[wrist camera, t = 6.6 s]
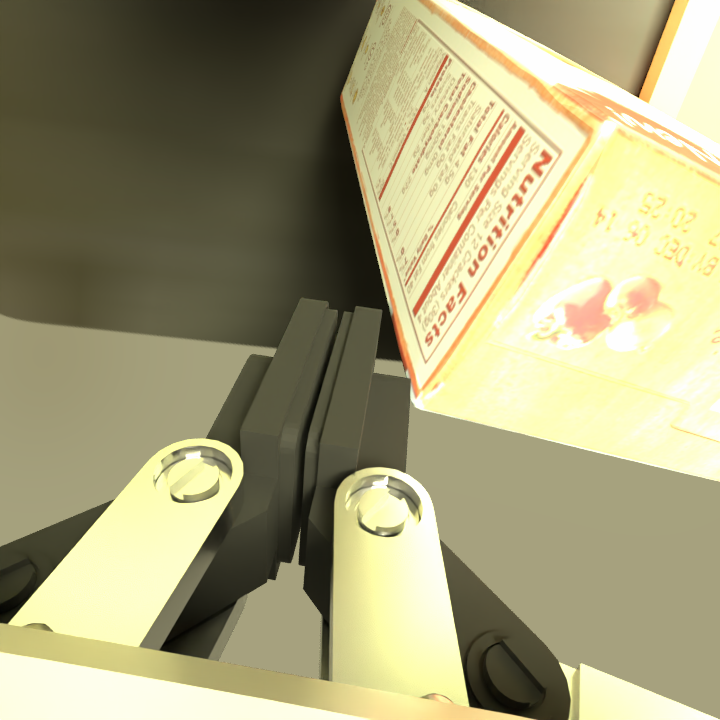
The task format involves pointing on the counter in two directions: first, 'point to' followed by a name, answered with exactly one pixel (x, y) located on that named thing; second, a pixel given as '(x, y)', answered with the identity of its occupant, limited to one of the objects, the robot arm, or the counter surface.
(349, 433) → the robot arm
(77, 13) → the counter surface
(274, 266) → the counter surface
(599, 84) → the cracker box
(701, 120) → the mat
